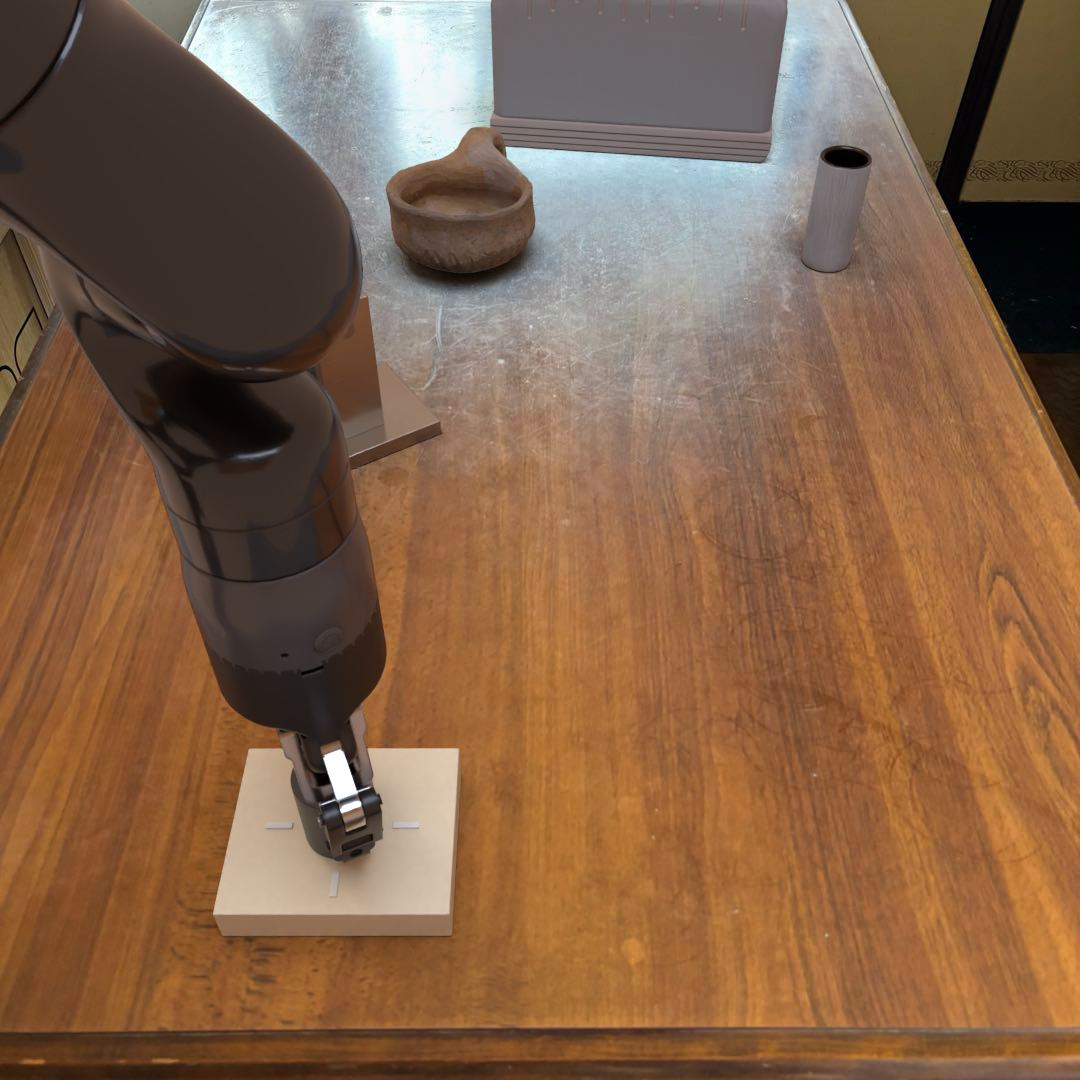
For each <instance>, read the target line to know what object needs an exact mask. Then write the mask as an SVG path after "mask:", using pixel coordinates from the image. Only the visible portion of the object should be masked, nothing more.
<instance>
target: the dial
mask: <svg viewBox="0 0 1080 1080" xmlns="http://www.w3.org/2000/svg"><path fill="white" fill-rule="evenodd" d="M302 756H303V759H304V762H305V766H306V769H307V770H308V771H312V770H311V769H310V768H309V767H308V765H307V763H306V760H305V757H304V754H303V755H302ZM312 772H314V771H312ZM290 782H291V788H292V791H293V795H294V798H295V801H296V805H297V808H298V812H299V815H300V818H301V822H302V825H303V829H304V832H305V835H306V839H307V841H308V843H309V845H310V846H311V848H312V849H313V850H314V851H315V852H317V853H318V854H320V855H322V856H324V857H327V858H331V859H334V858H333V855H332V852H331V850H330V851H328V850H327V847H326V844H325V841H327V836H326V833H325V832H324V829H323V826H321V827H319V823H318V820H317V817H319V813H318V810H317V806H316V804H314V803H308V802H306V801H305V800H304V798H303V796H302V792H301V789H300V786H299V783H298V780H297V777H296V773H295V770H294V767H293V769H292V772H291V779H290ZM368 784H370V785H371V786H372V787H374V785H373V780H371V782H369V783H368ZM368 784H367V785H368ZM332 797H334V795H332V796H330V797H329V798H332ZM329 798H328V799H329Z"/></svg>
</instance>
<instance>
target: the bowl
mask: <svg viewBox="0 0 1080 1080" xmlns="http://www.w3.org/2000/svg"><path fill="white" fill-rule="evenodd" d="M457 145H458V146H457V147H456V149H454V150H453V151H451V152H450V153H449V154H447V155H445V156H443V157H441V158H438V159H433V160H429V161H426V162H422V163H418V164H415V165H412V166H409V167H406V168H402V169H400V170H398V171H397V172H396V173H395V174H393V175H392V176H391V177H390V179H389V180H388V182H387V183H386V186H385V193H386V194H385V195H386V198H387V202H388V206H389V215H390V226H391V227H390V229H391V232H392V236H393V239H394V243H395V244H396V246H397V247H398V248H399V249H400V251H401V252H402V253H403V254H404V255H405V256H407V257H408V258H409V259H412V261H414V262H417V263H419V264H422V265H423V266H426V267H428V268H431V269H434V270H437V271H440V272H447V273H455V274H468V273H469V274H471V273H472V274H473V273H477V272H482V271H487V270H490V269H494V268H497V267H499V266H501V265H503V264H505V263H508V262H510V261H511V260H512V259H513V258H515V257H516V256H518V255H519V254H520V253H521V252H522V251H523V250H525V248H526V247H527V245H528V244H529V241H530V239H531V238H532V236H533V235H534V231H535V228H536V212H535V205H534V192H533V191H534V189H533V188H534V186H533V184H532V182H531V181H530V180H529V178H528V177H527V176H526V175H525V174H524V173H523V172H522V171H521V170H520V169H519V168H518V167H517V166H516V165H515V164H514V163H513V162H512V161H511V160H509V158H508V155H507V148H506V145H505V143H504V140H503V137H502V136H501V134H500V133H499V132H498V131H497V130H495V129H493V128H490V127H488V126H473V127H470V128H469V129H468V130H467V131H466V132H465V134H464V135H463V136H462V137H461V139H460V141H459V143H458V144H457Z"/></svg>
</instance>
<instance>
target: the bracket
mask: <svg viewBox="0 0 1080 1080" xmlns="http://www.w3.org/2000/svg"><path fill="white" fill-rule="evenodd" d="M371 316H372V315H371V309H370V302H369V295H368V294H367V293H366V292H365V291H364V290H363V289H362V291H361V296H360V301H359V304H358V308H357V311H356V314H355V316H354V319H353V321H352V323H351V325H350V327H349V329H348V331H347V332H346V334H345V336H344V337H343V339H342V340H341V341H340V343H339V344H338V345H337V346H336V347H335V349H334V350H333V351H332V352H331V353H330V354H329V355H328V356H327V357H326V358H325V359H323V360H322V361H321V362H319V363H318V364H317V365H315V366H314V367H312V368H310V369H309V370H307V372H309V373H310V374H311V375H312V376H314V377H315V378H316V379H317V380H318V381H319V382H320V383H321V384H322V385H323V386H324V388H325V389H326V390H327V392H328V393H329V395H330V396H331V398H332V399H333V401H334V403H335V405H336V407H337V409H338V412H339V415H340V418H341V421H342V425H343V430H344V434H345V439H346V444H347V449H348V454H349V460H350V466H351V471H352V470H354V469H356V468H359V467H361V466H363V465H366V464H369V463H371V462H374V461H376V460H379V459H381V458H384V457H387V456H389V455H391V454H393V453H396V452H398V451H402V450H403V449H406V448H409V447H411V446H413V445H416V444H418V443H422V442H424V441H427V440H429V439H430V438H433V437H436V436H438V435H441V434H442V427H441V426H442V425H441V420H440V419H439V418H438V417H437V416H436V414H435V413H434V412H433V411H432V410H431V408H429V407H428V406H427V405H426V403H424V401H422V399H421V398H420V397H419V396H418V395H417V394H416V393H415V392H414V390H412V388H410V386H409V385H408V384H407V383H406V382H405V381H404V380H403V379H402V377H400V376H399V375H398V373H397V372H396V371H395V370H394V369H393V368H392V367H391V366H390V365H389V364H388V363H387V362H385V363H383V364H379V365H378V364H377V362H378V361H377V355H376V349H375V340H374V332H373V324H372V317H371Z"/></svg>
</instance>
